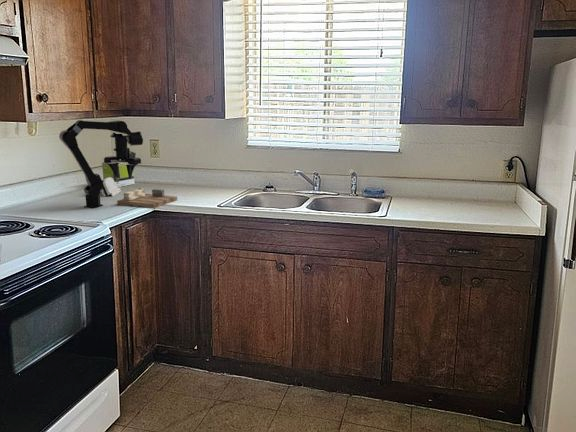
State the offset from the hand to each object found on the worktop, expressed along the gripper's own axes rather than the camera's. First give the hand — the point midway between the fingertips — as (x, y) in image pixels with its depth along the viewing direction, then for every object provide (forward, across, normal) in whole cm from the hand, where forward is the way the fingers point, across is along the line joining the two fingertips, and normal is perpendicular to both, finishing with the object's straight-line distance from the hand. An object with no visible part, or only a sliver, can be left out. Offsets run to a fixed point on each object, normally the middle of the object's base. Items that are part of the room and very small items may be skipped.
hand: (123, 177), depth 270 cm
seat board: (+13, -10, -5) cm, 17 cm away
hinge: (+13, +24, -17) cm, 32 cm away
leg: (+11, -4, -2) cm, 12 cm away
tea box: (+13, +35, -40) cm, 55 cm away
